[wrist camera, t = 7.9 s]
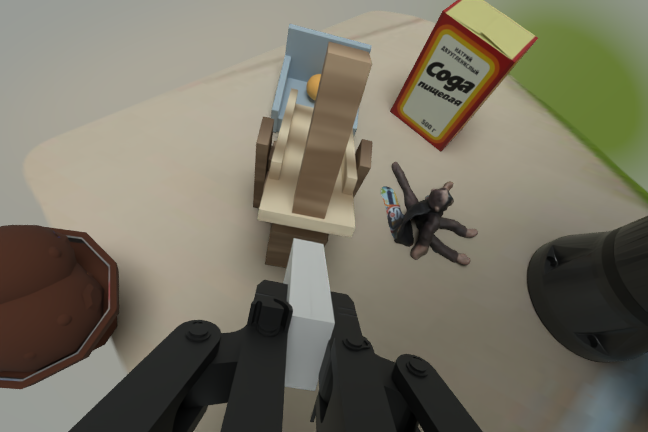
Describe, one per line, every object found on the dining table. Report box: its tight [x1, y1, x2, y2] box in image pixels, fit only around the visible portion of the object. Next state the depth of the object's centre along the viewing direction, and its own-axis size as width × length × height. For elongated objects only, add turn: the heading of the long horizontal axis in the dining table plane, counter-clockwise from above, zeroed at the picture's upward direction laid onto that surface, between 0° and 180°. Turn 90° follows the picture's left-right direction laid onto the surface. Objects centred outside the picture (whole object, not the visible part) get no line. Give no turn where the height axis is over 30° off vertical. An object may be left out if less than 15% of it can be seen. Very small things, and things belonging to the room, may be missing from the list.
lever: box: [257, 42, 372, 238], centre depth 30 cm, size 20×7×12 cm, turn 173°
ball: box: [306, 74, 321, 100], centre depth 48 cm, size 4×4×4 cm
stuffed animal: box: [381, 162, 478, 265], centre depth 44 cm, size 12×10×12 cm
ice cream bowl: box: [0, 225, 119, 389], centre depth 25 cm, size 11×11×15 cm
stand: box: [253, 117, 372, 268], centre depth 35 cm, size 11×10×12 cm
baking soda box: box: [390, 0, 538, 151], centre depth 45 cm, size 10×6×16 cm
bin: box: [271, 24, 371, 137], centre depth 45 cm, size 11×11×8 cm
